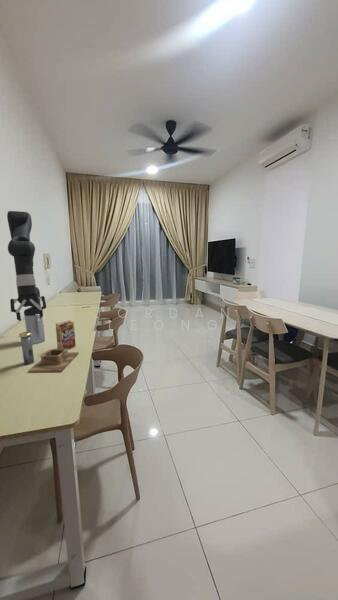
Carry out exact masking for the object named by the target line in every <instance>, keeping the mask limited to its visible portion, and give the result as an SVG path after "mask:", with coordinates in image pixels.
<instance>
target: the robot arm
mask: <svg viewBox="0 0 338 600" xmlns="http://www.w3.org/2000/svg"><path fill="white" fill-rule="evenodd" d="M6 216H7V217H6V218H7V223H8V224H7V225H8V228H9V229H8V230H9V234H10V239H11V240H10V241H9V242H8V244H7V251H8V254H9V255H10V256H12V257H13V262H14V269H15V277H16V279H15V282H16V289H17V298H11V299H10V312H11V313H15V314H16V319H17V320H18V322H21V321H22V317H21V312H20V311H21V310H22V308H23V307H25V309H24V310H23V315H24V323H25V324H24V325H25V332H32V335H31V339H32V345H34V344H40V343H42V342H44V341H46V336H45V334H46V333H45V325H44V322H43V320H44V319H43V317H44V312H43V310H45V309H46V308H47V303H46V297H45V296H44V295H42V296H41V292H40V289H39V288H38V286H36V278H35V275H34V256H35V252H36V245H35V244H34V243H33V242H32V241H31V237H30V236H31V230H32V228H33V223H32V216H31V214H30V213H29V212H27V211H20V210H19V211H15V210H9V211H7V214H6ZM17 302H18V303H19V305H18V307H17V309H15V308H16V307H15V304H16V303H17ZM41 302H42V303H41ZM41 304H42V306H41Z"/></svg>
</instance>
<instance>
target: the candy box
mask: <svg viewBox="0 0 338 600" xmlns="http://www.w3.org/2000/svg"><path fill="white" fill-rule="evenodd" d="M55 330H56V331H55V332H56V342H57V343H56V344H57V349H67V350H69V349H73V348H75V347H76V346H77V345H76V333H75V321H74V320H71V319H70V320H67V321H62V322H58V323H55Z"/></svg>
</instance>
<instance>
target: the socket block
mask: <svg viewBox="0 0 338 600" xmlns="http://www.w3.org/2000/svg"><path fill="white" fill-rule="evenodd" d="M68 350H69V349H58V348H57V349H55V348H54V349H52V348H51V349H49V350H47V351H45V353H43V354H42V355H41V356H40V360H39V361H38V362H37V363H36V364H34V365H33V366H32V367H30V368H29V369H28V373H63V371H65V369H66V368H67V367H68V366H69V365H70V364H71V363H72V362H73V360H74V359H76V357H77V356H78V355H79V354H80V352H78V351H72V352H71V351H68Z"/></svg>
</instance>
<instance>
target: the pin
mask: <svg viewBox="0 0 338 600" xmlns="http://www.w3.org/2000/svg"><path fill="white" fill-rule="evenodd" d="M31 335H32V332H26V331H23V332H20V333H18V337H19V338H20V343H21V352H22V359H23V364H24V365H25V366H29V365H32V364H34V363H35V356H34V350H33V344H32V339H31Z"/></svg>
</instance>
